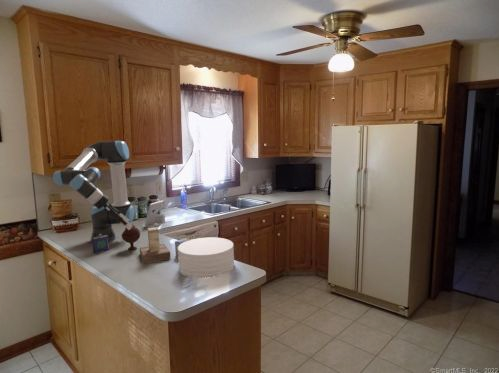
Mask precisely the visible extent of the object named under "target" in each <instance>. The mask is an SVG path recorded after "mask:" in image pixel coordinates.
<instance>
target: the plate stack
mask: <svg viewBox="0 0 499 373" xmlns="http://www.w3.org/2000/svg"><path fill="white" fill-rule="evenodd" d="M234 250H235V248H234V242H233V241H232V240H229V239H227V238H222V237H216V236H214V237H213V236H211V237H210V236H209V237H206V236H205V237H198V238H193V239H190V240H189V241H186V242H183V243H182V244H180V245H179V246H178V256H179V257H177V258H178V271H179V273H180V274H181V275H184V276H185V277H189V278H194V279H207V277H210V278H214V277H213V276H216V277H219V276H218V275H220V276H222V275H221V274H223V275H225V274H224V273H226V274H227V272H228V273H229V271H230V270H231V271H233V269H234V268H235V254H234ZM233 267H234V268H233ZM231 271H230V272H231ZM205 277H206V278H205Z"/></svg>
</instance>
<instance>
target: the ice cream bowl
mask: <svg viewBox="0 0 499 373" xmlns="http://www.w3.org/2000/svg"><path fill="white" fill-rule="evenodd" d="M130 224H131V223H130ZM131 225H132V226H133V227H132V228H131V229H130V230H128V229H127V228H126V227H124V228H125V229H124V230H123V232H122V234H121V239H122V240H123V241H124V242H125V243H128V244H130V246H129V247H128V248H127V251H129V252H130V251H131V252H133V251H135V250H137V249H138V248H137V247H136V246H134V243H136V242H137V241H138V240H139V239H140V237H141V232H140V229H138V227H136V225H134V224H131Z"/></svg>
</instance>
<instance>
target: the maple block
mask: <svg viewBox="0 0 499 373" xmlns="http://www.w3.org/2000/svg"><path fill="white" fill-rule="evenodd" d="M159 233H160V232H159V228H158V226H156V227H153V228H147V238H148V246H149V250H150V252H153V251H159V250H160V247H159V245H160V234H159Z"/></svg>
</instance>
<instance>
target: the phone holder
mask: <svg viewBox="0 0 499 373" xmlns="http://www.w3.org/2000/svg"><path fill="white" fill-rule="evenodd" d="M165 204H166V201H165V200H158V201H155V202H152V203H149V205H148V208H147V214H146V218H145V222H144V224H143V225H141V228H146V229H148V228H156V227H158V226H161V225H164V224H166V216H165V214H160V213H159V211H160V210H161V209H162V208H164V207H165Z"/></svg>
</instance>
